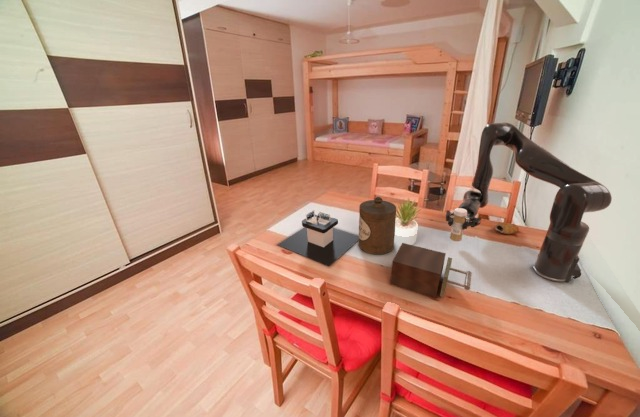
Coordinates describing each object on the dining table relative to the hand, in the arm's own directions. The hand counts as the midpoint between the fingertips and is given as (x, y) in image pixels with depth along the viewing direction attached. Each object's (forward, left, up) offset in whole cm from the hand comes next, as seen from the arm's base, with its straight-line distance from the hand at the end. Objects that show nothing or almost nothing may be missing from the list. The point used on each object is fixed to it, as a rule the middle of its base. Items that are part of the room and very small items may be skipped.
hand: (456, 225), depth 104 cm
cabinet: (+9, +27, -10) cm, 30 cm away
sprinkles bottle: (0, -3, -8) cm, 8 cm away
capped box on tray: (+52, +20, -11) cm, 56 cm away
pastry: (-19, -26, -11) cm, 34 cm away
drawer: (+3, +27, -9) cm, 29 cm away
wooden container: (+29, +12, -11) cm, 33 cm away
